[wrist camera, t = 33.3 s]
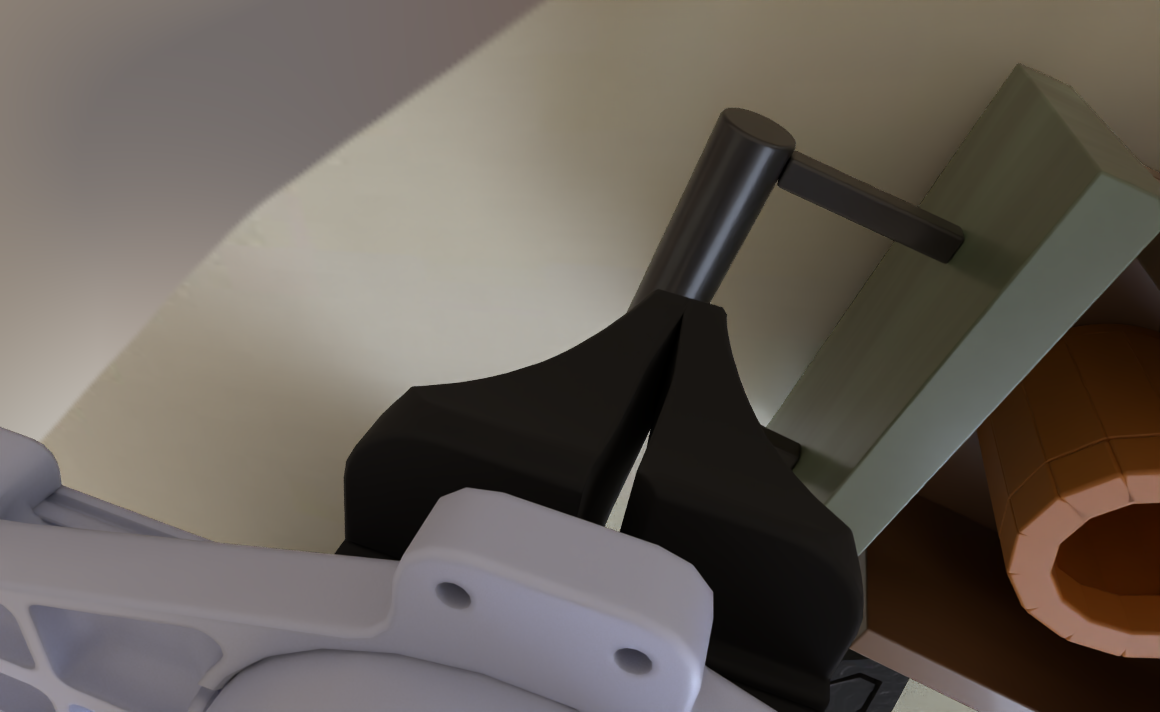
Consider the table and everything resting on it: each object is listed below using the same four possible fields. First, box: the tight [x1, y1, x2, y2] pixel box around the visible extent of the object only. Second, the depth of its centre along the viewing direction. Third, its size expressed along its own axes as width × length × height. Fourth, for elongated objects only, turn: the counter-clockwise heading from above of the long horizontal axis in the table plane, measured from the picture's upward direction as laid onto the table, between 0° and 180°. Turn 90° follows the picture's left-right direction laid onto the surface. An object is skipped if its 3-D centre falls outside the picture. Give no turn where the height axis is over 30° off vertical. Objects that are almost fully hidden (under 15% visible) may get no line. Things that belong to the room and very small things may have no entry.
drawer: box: [627, 63, 1160, 712], centre depth 16 cm, size 18×11×7 cm, turn 70°
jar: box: [977, 324, 1160, 658], centre depth 16 cm, size 5×5×5 cm
